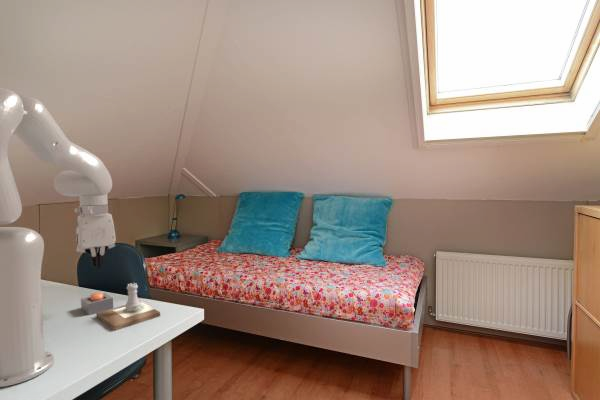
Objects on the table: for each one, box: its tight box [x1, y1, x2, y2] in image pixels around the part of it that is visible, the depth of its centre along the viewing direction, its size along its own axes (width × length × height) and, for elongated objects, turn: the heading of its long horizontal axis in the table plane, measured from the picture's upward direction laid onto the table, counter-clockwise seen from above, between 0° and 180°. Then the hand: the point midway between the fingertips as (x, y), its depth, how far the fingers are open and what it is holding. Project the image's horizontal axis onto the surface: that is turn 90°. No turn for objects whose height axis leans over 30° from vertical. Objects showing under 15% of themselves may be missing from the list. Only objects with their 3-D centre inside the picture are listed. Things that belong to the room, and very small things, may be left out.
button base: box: [80, 292, 114, 316], centre depth 110 cm, size 7×7×3 cm
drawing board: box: [95, 300, 161, 331], centre depth 104 cm, size 13×14×1 cm
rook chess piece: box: [125, 282, 141, 312], centre depth 105 cm, size 4×4×8 cm
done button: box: [89, 292, 104, 302], centre depth 110 cm, size 4×4×2 cm
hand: (97, 267), depth 109 cm, fingers closed
